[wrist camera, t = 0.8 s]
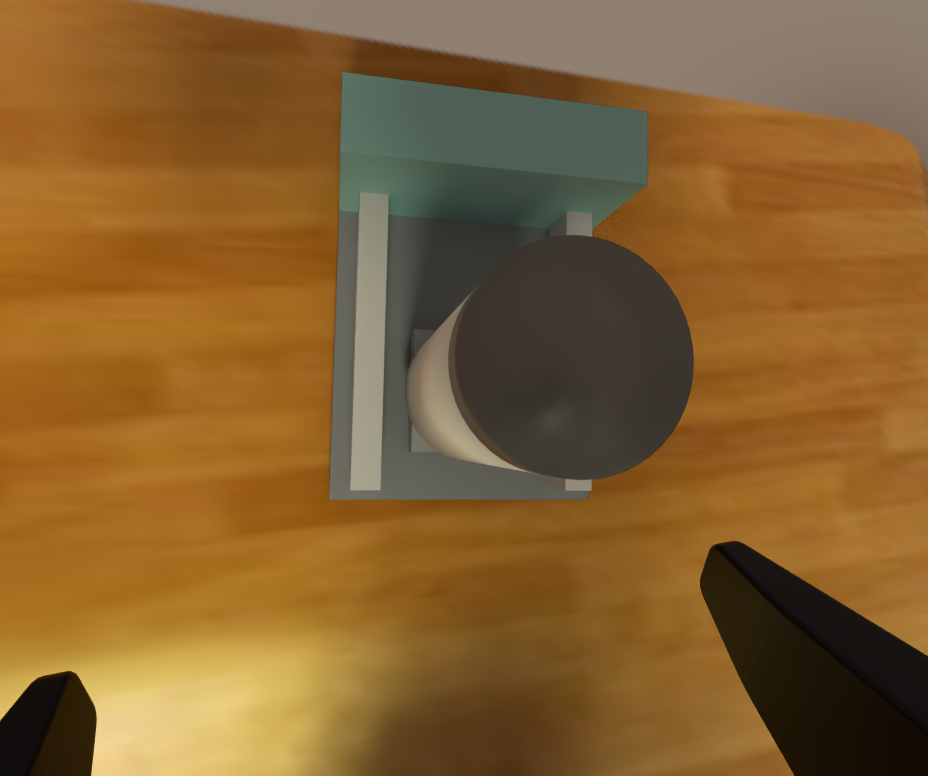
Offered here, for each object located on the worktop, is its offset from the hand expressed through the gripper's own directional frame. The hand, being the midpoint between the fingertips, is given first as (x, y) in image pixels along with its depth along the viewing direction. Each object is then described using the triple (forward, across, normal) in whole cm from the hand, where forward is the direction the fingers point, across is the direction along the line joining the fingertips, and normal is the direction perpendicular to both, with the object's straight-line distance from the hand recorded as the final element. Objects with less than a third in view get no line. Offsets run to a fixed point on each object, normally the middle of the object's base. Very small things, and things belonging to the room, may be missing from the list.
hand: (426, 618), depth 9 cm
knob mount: (+16, -4, +4) cm, 17 cm away
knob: (+14, -4, +6) cm, 15 cm away
